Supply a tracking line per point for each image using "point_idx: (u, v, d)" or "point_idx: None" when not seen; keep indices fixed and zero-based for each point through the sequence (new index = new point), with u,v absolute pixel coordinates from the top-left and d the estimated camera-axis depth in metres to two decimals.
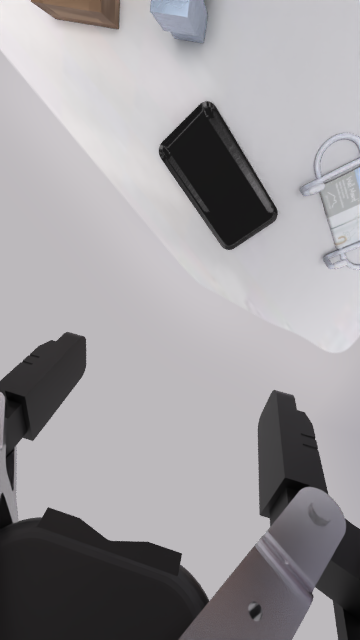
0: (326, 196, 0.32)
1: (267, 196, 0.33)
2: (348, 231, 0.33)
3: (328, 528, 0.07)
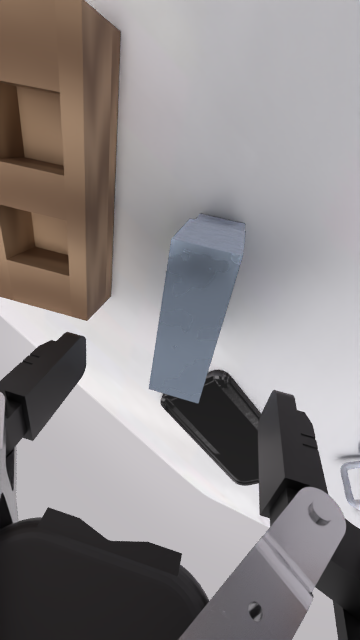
0: None
1: None
2: None
3: (328, 528, 0.07)
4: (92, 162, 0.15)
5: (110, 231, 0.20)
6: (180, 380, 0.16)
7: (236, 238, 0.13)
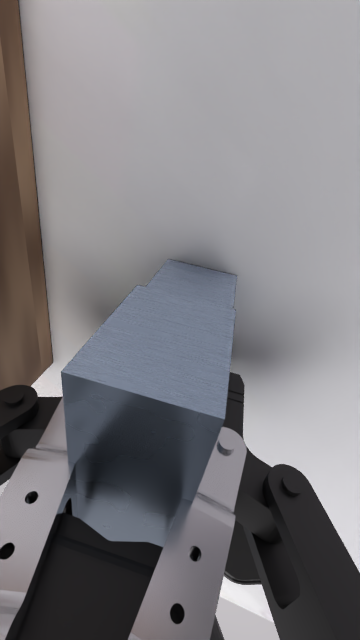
0: None
1: None
2: None
3: (229, 456, 0.08)
4: None
5: (39, 281, 0.14)
6: None
7: (216, 339, 0.07)
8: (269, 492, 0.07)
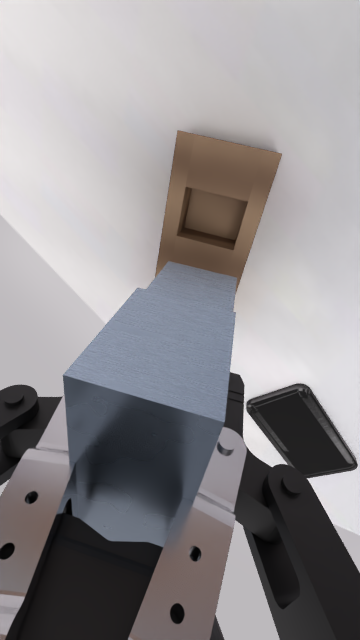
0: None
1: (349, 454, 0.34)
2: None
3: (229, 456, 0.08)
4: None
5: None
6: None
7: (216, 342, 0.07)
8: (269, 492, 0.07)
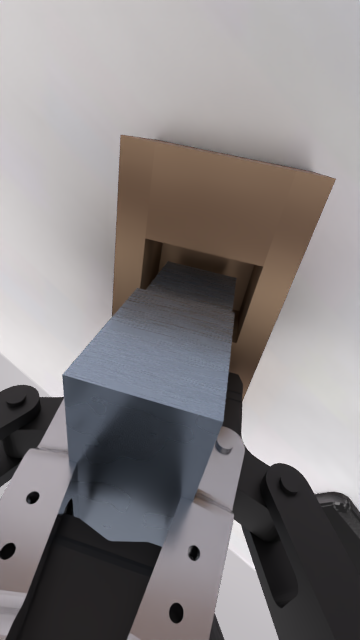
0: None
1: None
2: None
3: (227, 455, 0.08)
4: None
5: None
6: None
7: (215, 342, 0.07)
8: (267, 491, 0.07)
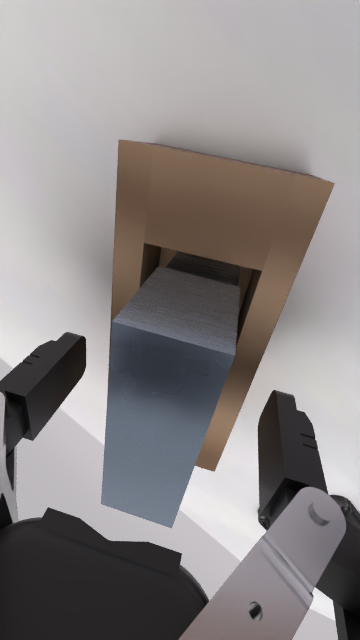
0: None
1: None
2: None
3: (328, 528, 0.07)
4: None
5: None
6: (143, 500, 0.11)
7: (225, 306, 0.08)
8: None
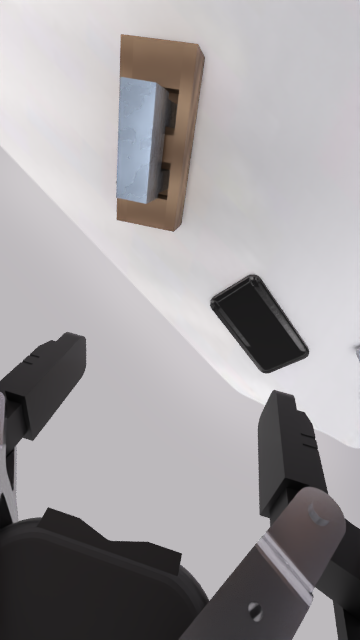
0: None
1: (301, 341, 0.40)
2: None
3: (328, 528, 0.07)
4: (188, 128, 0.28)
5: (187, 176, 0.33)
6: (133, 185, 0.26)
7: None
8: None
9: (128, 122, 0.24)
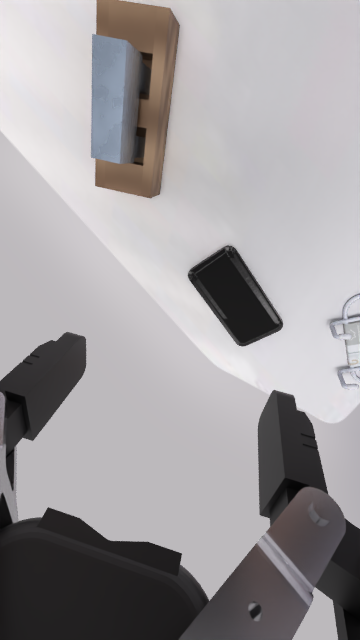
0: (348, 331, 0.40)
1: (275, 313, 0.41)
2: None
3: (328, 528, 0.07)
4: (163, 94, 0.29)
5: (164, 145, 0.34)
6: (107, 144, 0.27)
7: None
8: None
9: (101, 80, 0.25)
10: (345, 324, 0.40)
